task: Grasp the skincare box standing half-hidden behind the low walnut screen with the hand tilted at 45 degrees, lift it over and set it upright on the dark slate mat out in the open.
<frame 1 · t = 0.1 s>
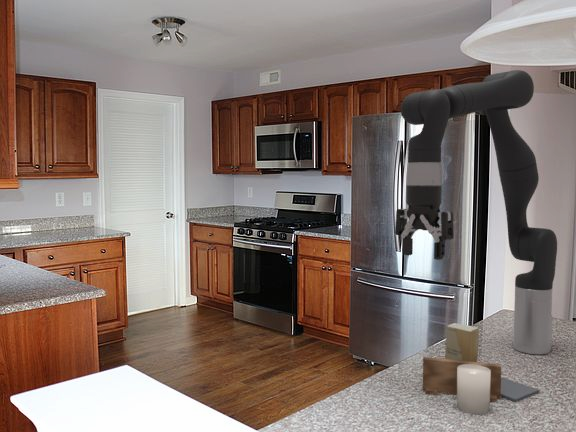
hand: (422, 257, 120), 29 cm above the countertop, tool pointing down, fingers open, 8 cm apart
white pillar candle: (472, 407, 111), on the countertop
skincare box: (460, 378, 127), on the countertop
slate mat: (508, 390, 119), on the countertop
walnut screen: (460, 393, 118), on the countertop
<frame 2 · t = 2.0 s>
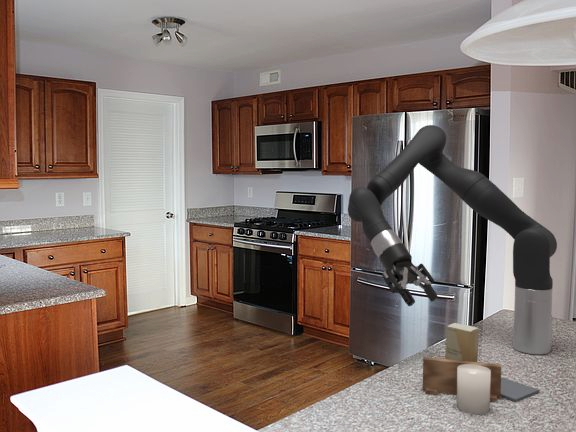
hand: (423, 302, 135), 16 cm above the countertop, tool tilted 45°, fingers open, 8 cm apart
nothing on the countertop moved.
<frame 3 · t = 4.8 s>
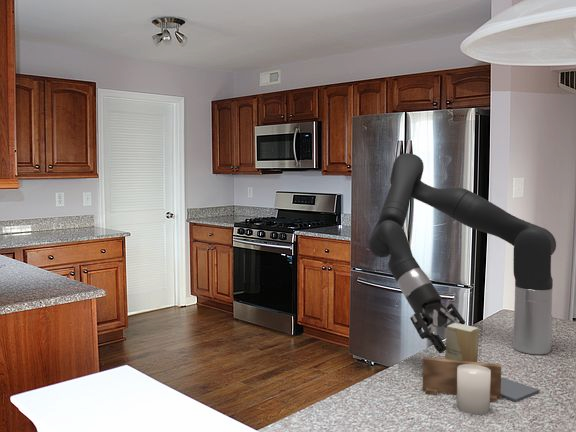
hand: (455, 347, 128), 7 cm above the countertop, tool tilted 45°, fingers open, 8 cm apart
nothing on the countertop moved.
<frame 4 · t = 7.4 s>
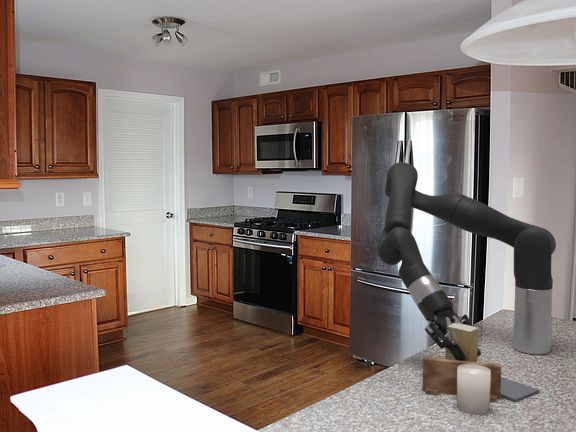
hand: (470, 358, 125), 5 cm above the countertop, tool tilted 45°, fingers closed on skincare box, 5 cm apart
skincare box: (460, 378, 127), on the countertop, touching gripper
everything else where it was.
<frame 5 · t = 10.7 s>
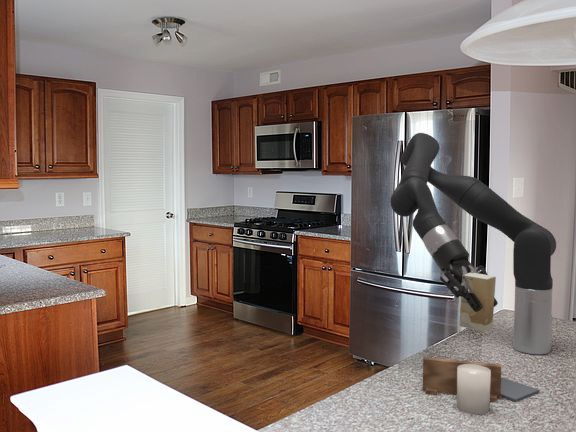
hand: (486, 307, 121), 18 cm above the countertop, tool tilted 45°, fingers closed on skincare box, 5 cm apart
skincare box: (476, 328, 124), point 12 cm above the countertop, touching gripper
everything else where it was.
when the fingers open (7 cm above the countertop, at t = 13.8 s): skincare box stays where it is, resting on slate mat.
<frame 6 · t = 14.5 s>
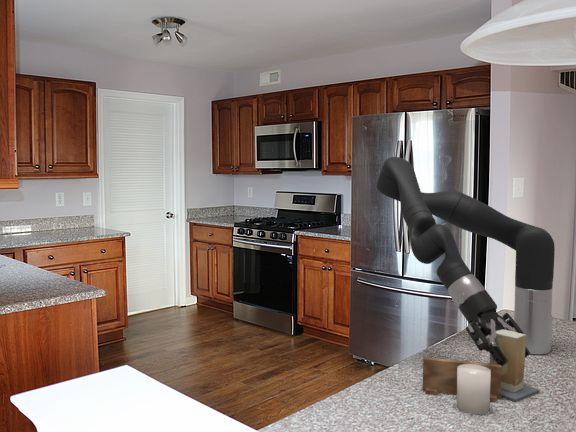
hand: (515, 360, 118), 7 cm above the countertop, tool tilted 45°, fingers open, 8 cm apart
skincare box: (506, 387, 120), resting on slate mat
everything else where it was.
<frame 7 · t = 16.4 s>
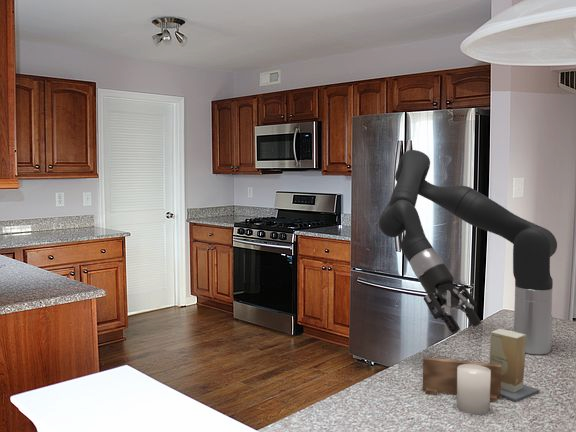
hand: (467, 328, 128), 11 cm above the countertop, tool tilted 40°, fingers open, 8 cm apart
nothing on the countertop moved.
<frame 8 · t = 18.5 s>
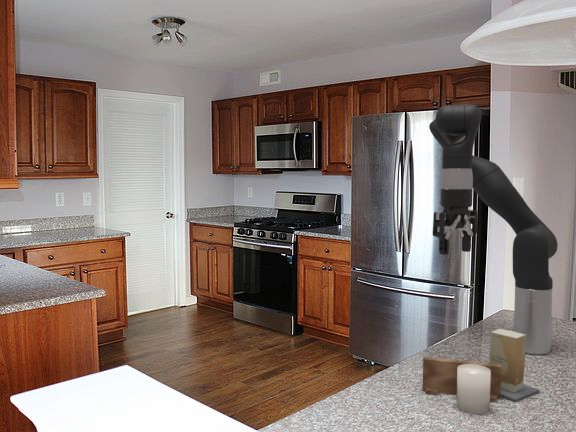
hand: (455, 252, 134), 28 cm above the countertop, tool pointing down, fingers open, 8 cm apart
nothing on the countertop moved.
at the end: skincare box inside the target area on the slate mat (0.6 cm from its centre), point 0.4 cm above the slate mat's base; skincare box tilted 0°; the gripper is holding nothing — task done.
